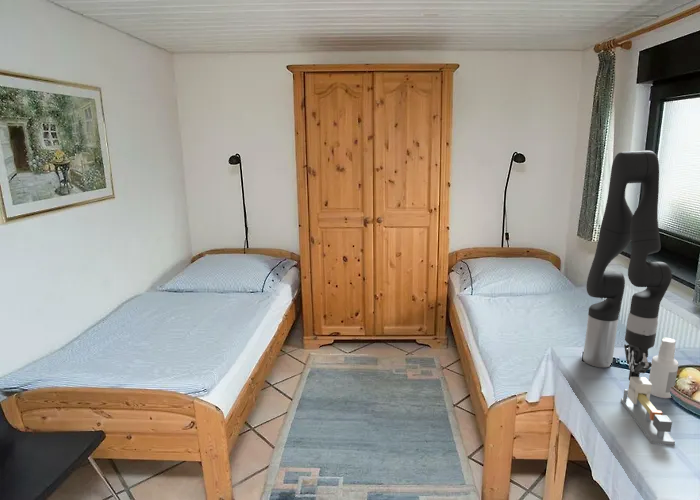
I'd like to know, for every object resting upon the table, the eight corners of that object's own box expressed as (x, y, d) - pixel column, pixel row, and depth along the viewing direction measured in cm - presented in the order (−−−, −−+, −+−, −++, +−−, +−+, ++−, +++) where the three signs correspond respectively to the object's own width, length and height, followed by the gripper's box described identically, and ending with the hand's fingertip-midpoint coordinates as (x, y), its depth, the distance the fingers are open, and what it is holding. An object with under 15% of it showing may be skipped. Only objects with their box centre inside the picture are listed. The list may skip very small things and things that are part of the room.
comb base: (620, 401, 148) (622, 387, 147) (640, 402, 147) (642, 388, 146) (651, 443, 129) (654, 428, 128) (674, 445, 128) (677, 430, 127)
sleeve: (627, 396, 145) (630, 376, 143) (642, 396, 145) (645, 377, 143) (633, 403, 141) (636, 383, 140) (648, 404, 141) (652, 384, 139)
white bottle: (676, 399, 148) (686, 345, 143) (652, 397, 149) (661, 344, 145) (667, 388, 155) (676, 335, 150) (643, 386, 156) (652, 334, 151)
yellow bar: (629, 394, 145) (631, 385, 144) (640, 395, 145) (641, 386, 144) (658, 431, 128) (659, 421, 127) (670, 432, 128) (672, 422, 127)
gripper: (618, 318, 148) (611, 370, 153) (637, 337, 136) (629, 393, 140) (644, 319, 147) (636, 371, 152) (666, 338, 135) (657, 394, 139)
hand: (633, 381), depth 146 cm, fingers closed
